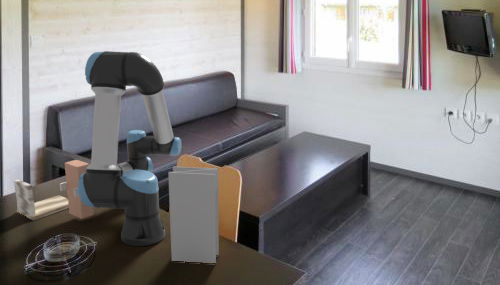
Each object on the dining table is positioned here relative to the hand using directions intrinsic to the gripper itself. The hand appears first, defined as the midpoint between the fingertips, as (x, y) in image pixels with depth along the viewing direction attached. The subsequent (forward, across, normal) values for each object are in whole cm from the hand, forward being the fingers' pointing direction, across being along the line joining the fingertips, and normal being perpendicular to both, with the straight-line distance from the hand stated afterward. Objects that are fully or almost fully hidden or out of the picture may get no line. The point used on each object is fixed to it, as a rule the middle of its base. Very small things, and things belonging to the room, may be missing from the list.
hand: (67, 189), depth 171 cm
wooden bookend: (-2, +20, -14) cm, 24 cm away
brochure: (-10, -53, -14) cm, 56 cm away
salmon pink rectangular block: (-5, 0, -11) cm, 12 cm away
